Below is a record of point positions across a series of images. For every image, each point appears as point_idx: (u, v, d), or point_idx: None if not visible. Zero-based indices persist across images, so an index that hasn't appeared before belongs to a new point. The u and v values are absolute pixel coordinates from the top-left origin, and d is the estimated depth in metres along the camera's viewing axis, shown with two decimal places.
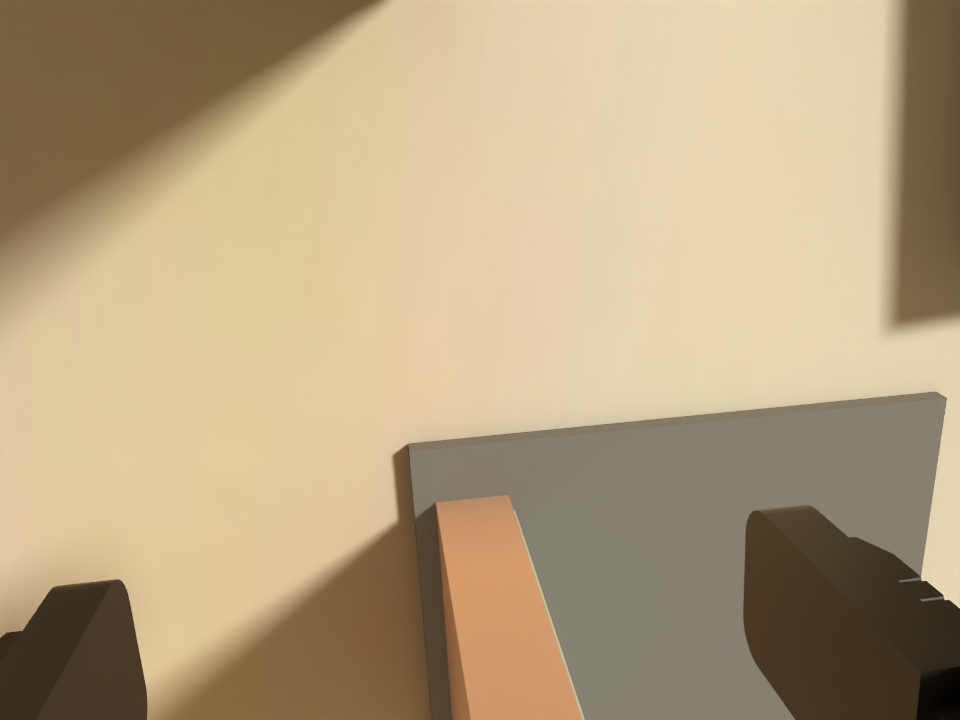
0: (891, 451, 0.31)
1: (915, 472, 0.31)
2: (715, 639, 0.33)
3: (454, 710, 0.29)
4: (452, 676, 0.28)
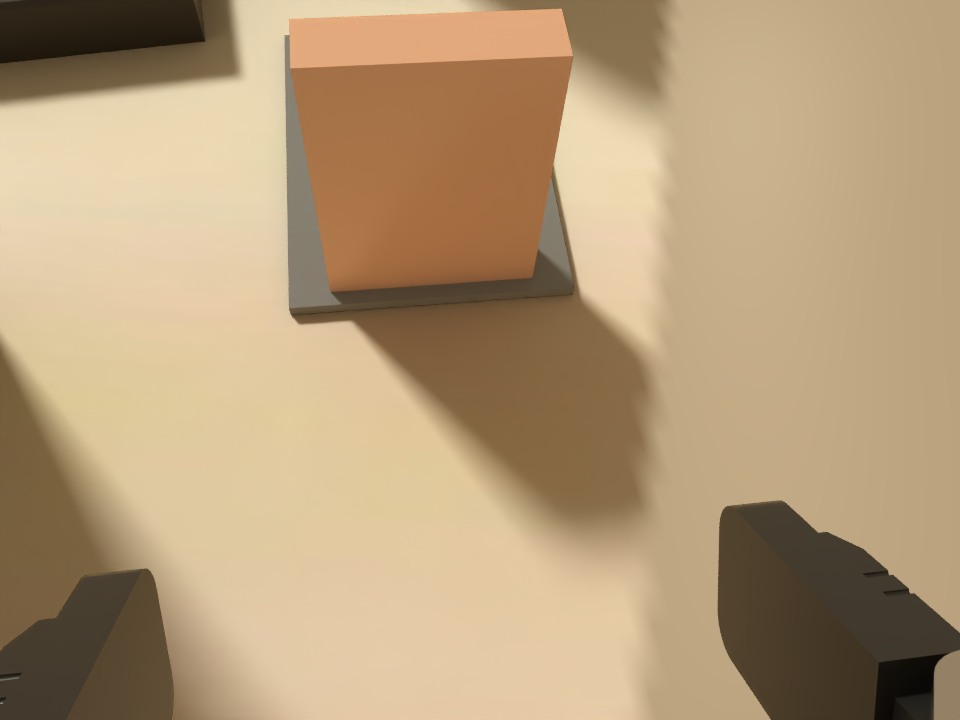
0: None
1: None
2: None
3: (468, 253, 0.41)
4: (430, 250, 0.40)
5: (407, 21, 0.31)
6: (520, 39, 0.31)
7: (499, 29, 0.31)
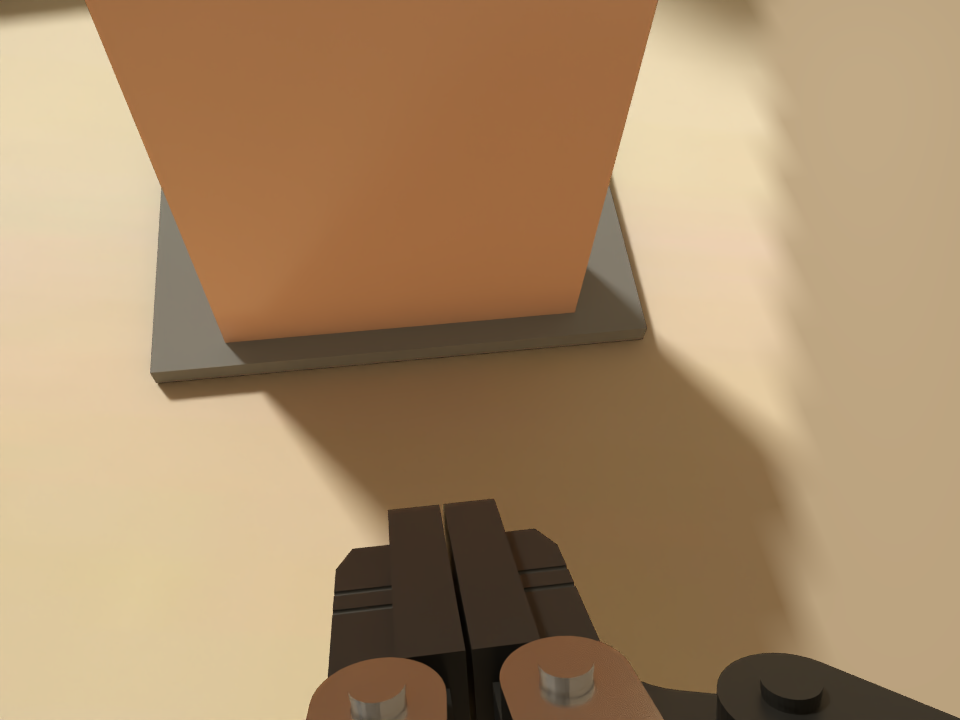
0: None
1: None
2: None
3: (464, 273, 0.23)
4: (396, 269, 0.22)
5: None
6: None
7: None
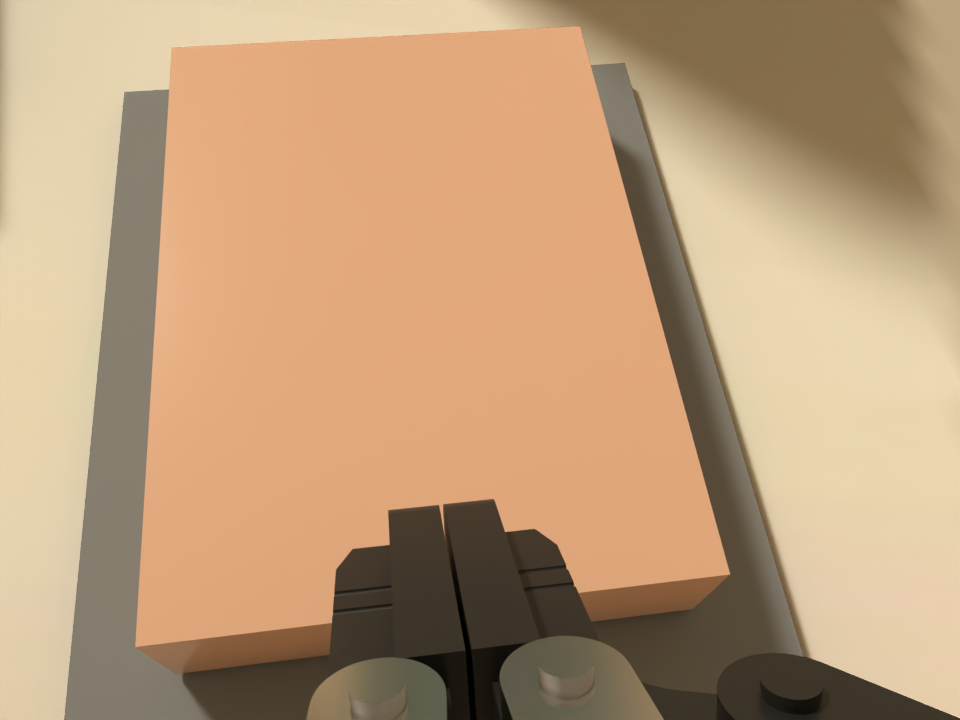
0: None
1: None
2: None
3: (519, 465, 0.16)
4: (420, 454, 0.16)
5: None
6: None
7: None
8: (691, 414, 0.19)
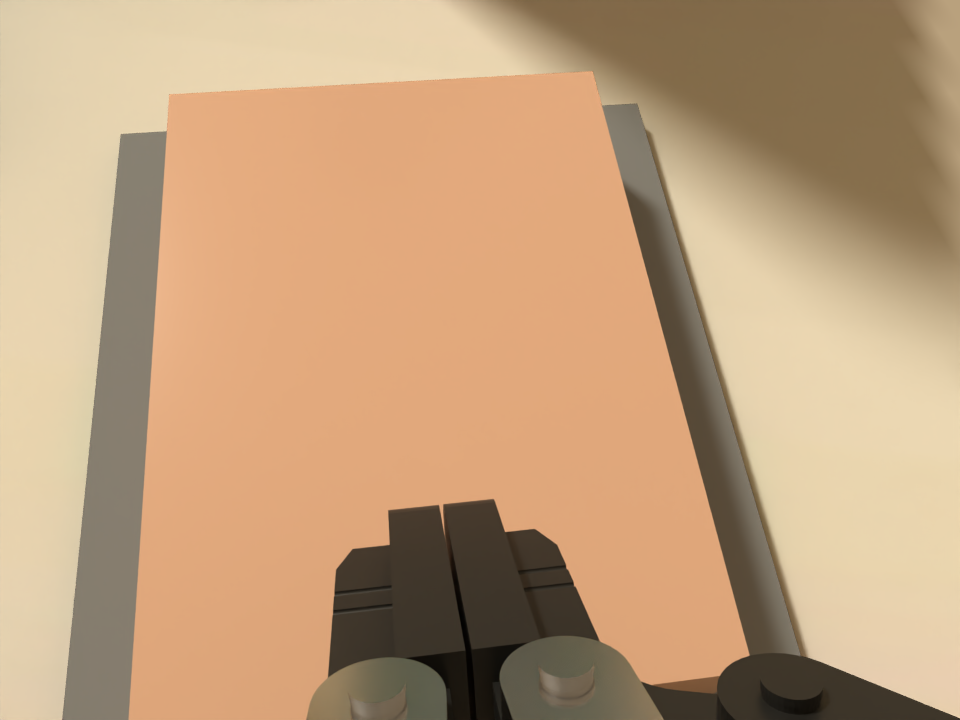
0: None
1: None
2: None
3: None
4: None
5: None
6: None
7: None
8: (708, 481, 0.19)
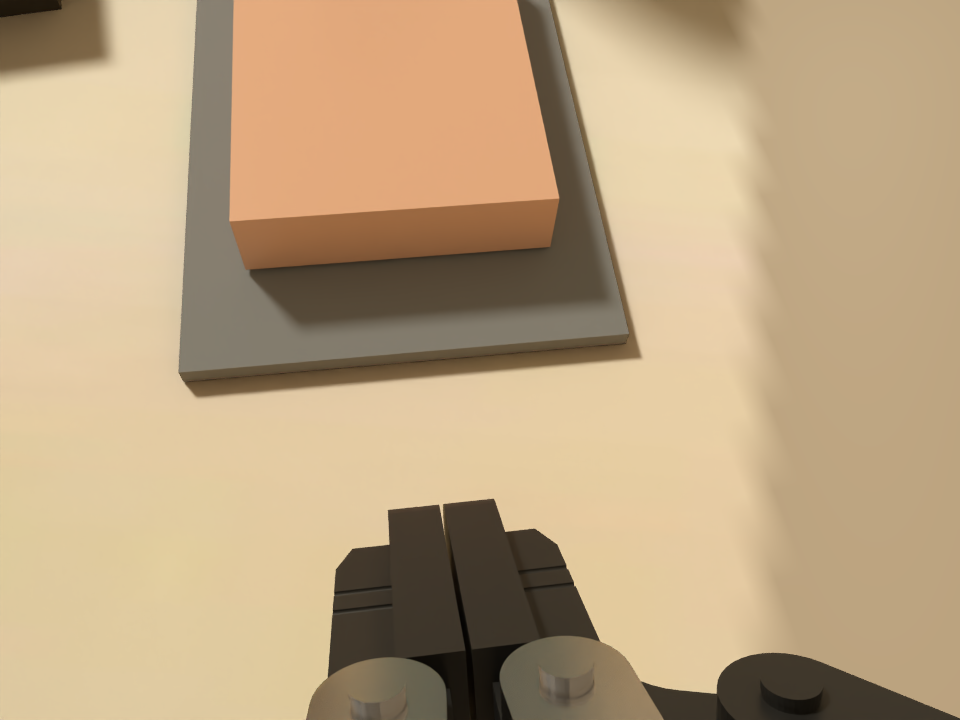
0: None
1: None
2: None
3: (443, 146, 0.28)
4: (387, 139, 0.28)
5: None
6: None
7: None
8: (560, 151, 0.31)
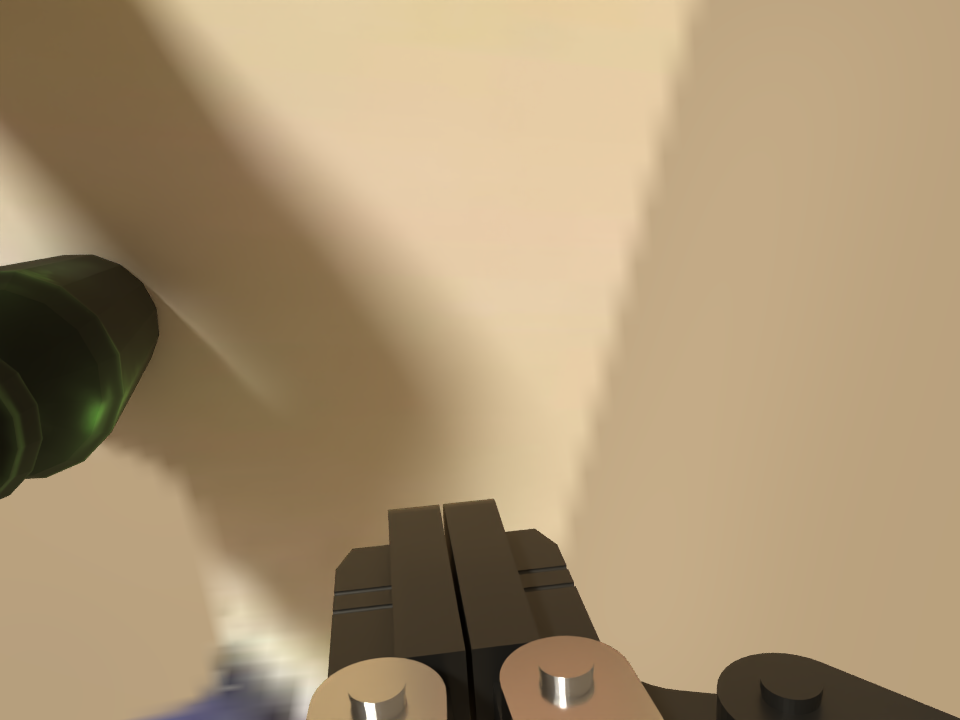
0: None
1: None
2: None
3: None
4: None
5: None
6: None
7: None
8: None
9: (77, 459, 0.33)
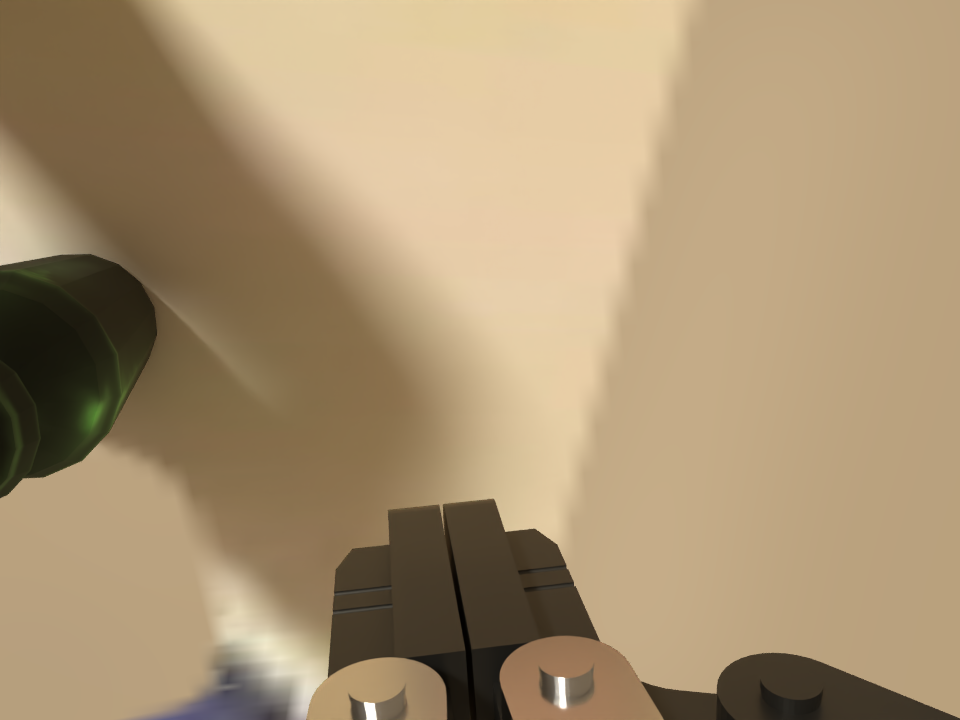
0: None
1: None
2: None
3: None
4: None
5: None
6: None
7: None
8: None
9: (75, 459, 0.33)
